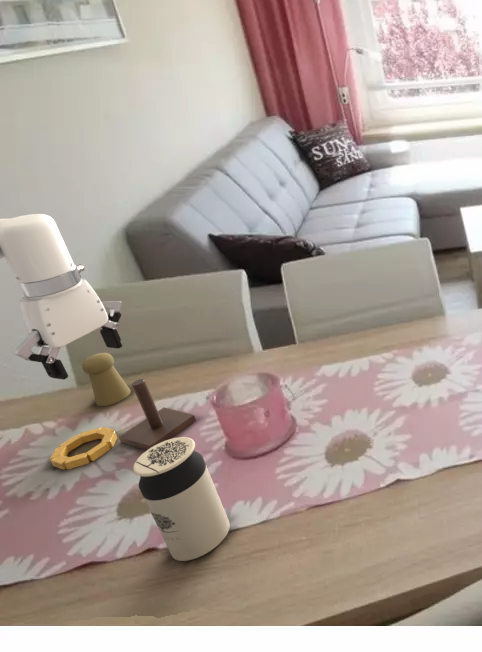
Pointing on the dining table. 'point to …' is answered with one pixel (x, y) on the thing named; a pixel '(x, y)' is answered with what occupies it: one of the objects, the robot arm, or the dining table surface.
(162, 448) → the travel mug
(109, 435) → the brass ring
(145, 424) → the peg stand
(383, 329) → the dining table surface
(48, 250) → the robot arm
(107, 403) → the cork
